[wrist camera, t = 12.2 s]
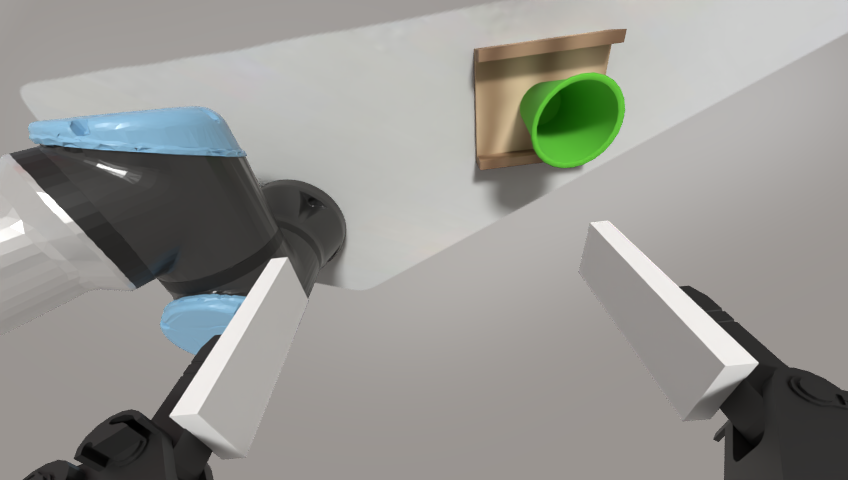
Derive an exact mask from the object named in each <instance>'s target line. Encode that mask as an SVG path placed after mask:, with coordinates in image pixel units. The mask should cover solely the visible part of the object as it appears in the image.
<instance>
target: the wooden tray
mask: <svg viewBox="0 0 848 480" xmlns="http://www.w3.org/2000/svg"><path fill="white" fill-rule="evenodd" d="M626 30H627V29H612V30H604V31H597V32H590V33H583V34H576V35H569V36H562V37H555V38H548V39H541V40H534V41H527V42H520V43H513V44H506V45H499V46H491V47H484V48H477V49H474V71H475V118H476V162H477V164H478V166H479V168H480V170H485V169H493V168H501V167H510V166H518V165H526V164H534V163H542V162H543V161H542V160H541V159H540V158H539V157H538V156H537V154H536V152H535V150H534V149H533V145H532V141H531V135H530V133H529V131H528V129H527V127H526V125H525V123H524V121H523V119H522V117H521V114H520V104H521V100H522V98H523V96H524V95H525V93H526V92H527V91H528V90H529V89H530V88H531V87H532V86H534V85H535V84H538V83H541V82H547V81H555V80H563V79H568V78H569V77H572V76H575V75H578V74H581V73H592V72H595V73H599V74H604V75H606V69H607V64H608V59H609V54H610V49H611V44H614V43H621V42H624V39H625V34H626Z"/></svg>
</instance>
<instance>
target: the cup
mask: <svg viewBox="0 0 848 480" xmlns="http://www.w3.org/2000/svg"><path fill="white" fill-rule="evenodd" d="M624 113H625V104H624V97H623V94H622V91H621V89H620V87H619V86H618V85H617V84H616V82H615V81H614V80H613V79H611V78H609V77H608V76H606V75H604V74H599V73H595V72H592V73H581V74H578V75H575V76H572V77H569V78H568V79H563V80H555V81H547V82H541V83H538V84H535V85H534V86H532V87H531V88H530V89H529V90H528V91H527V92H526V93H525V95H524V96H523V98H522V100H521V104H520V114H521V117H522V119H523V121H524V123H525V125H526V127H527V129H528V131H529V133H530V135H531V141H532V145H533V149H534V150H535V152H536V154H537V156H538V157H539V158H540V159H541V160H542V161H543V162H545V163H547V164H549V165H551V166H553V167H559V168H571V167H576V166H579V165H583V164H585V163H587V162H589V161H591V160H593V159H595V158H596V157H597V156H599V155H600V154H601V153H603V152H604V151H605V150H606V149H607V147H608V146H609V145H610V144H611V143H612V142H613V140H614V139H615V137H616V136H617V134H618V132H619V130H620V127H621V125H622V123H623V118H624Z"/></svg>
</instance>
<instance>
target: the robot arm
mask: <svg viewBox="0 0 848 480" xmlns="http://www.w3.org/2000/svg"><path fill="white" fill-rule="evenodd" d="M28 130H29V132H30V136H29V138H30V139H31V140H32V141H33V142H34V143H35V144H40V145H39V146H37V147H34V148H30V149H27V150H22V151H18V152H14V153H10V154H6V155H3V156H2V157H1V159H0V336H1V335H3V334H5V333H7V332H9V331H11V330H13V329H15V328H17V327H19V326H21V325H23V324H25V323H27V322H29V321H31V320H33V319H35V318H37V317H39V316H41V315H43V314H45V313H47V312H49V311H51V310H53V309H55V308H57V307H59V306H61V305H62V304H65V303H67V302H69V301H70V300H72V299H74V298H76V297H78V296H80V295H82V294H84V293H86V292H88V291H92V290H100V289H104V290H124V291H133V290H135V289H137V288H139V287H141V286H143V285H144V284H146V283H148V282H150V281H152V280H154V279H156V278H157V279H158V280H159V281H160V282H161V283H162V284H163V285H164V287H165V288H166V289H167V290H168V292H169V293H170V294H171V295H172V296H173V299H174V301H173V302H170V303H169V304H168V305H167V306H166V307H165V308H164V313H163V315H162V317H161V318H162V320H161V323H160V326H161V330H162V332H163V333H164V335H165V336H166V337H167V338H168V339H169V340H170V341H171V342H172V343H173V344H175V345H177V346H178V347H179V348H182V349H183V350H185V351H187V352H190V353H192V354H194V355H196V356H195V357H194V359H193V360H192V363H191V365H189V366H188V367H187V369H186V370H185V372H184V373H183V374H184V375H183V376H182V377H180V379H179V381H178V382H177V383H176V385H175V386H174V388H173V389H172V391H171V392H170V394H169V395H168V396H167V398H166V400H165V401H164V402H163V404H162V405H161V407H160V408H159V410H158V411H157V412H156V414H155V415H154V417H153V418H152V420H149V419H148V418H147V417H146V416H144V415H143V414H142V413H140V412H139V411H136V410H127V411H122V412H120V413H118V414H116V415H113V416H111V417H109V418H108V419H107V420H105V421H104V422H102V423H101V424H99V425H98V426H97V427H96V428H95V429H94V430H93V431H92V432H91V433H90V434H88V435H87V436H86V438H85V439H84V440H83V442H82V443H81V444H80V446H79V447H78V449H77V451H76V454H75V457H74V459H75V460H77V461H79V462H81V463H83V464H81V465H79V466H75V465H73V464H71V463H69V462H67V461H62V460H57V461H54V462H51V463H48V464H45V465H44V466H42V467H40V468H38V469H37V470H35V471H33V472H32V473H31V474H29V475H28V476H27V477H26V478H24V479H23V480H213V475H212V470H211V468H210V466H209V465H208V463H207V461H208V459H209V457H210V455H211V453H212V452H214V453H215V454H216V455H217V456H218V457H220V458H221V459H233V458H245V457H246V456H247V453H248V451H249V448H250V446H251V443H252V441H253V438H254V436H255V433H256V431H257V428H258V426H259V424H260V421H261V418H262V416H263V414H264V411H265V409H266V406H267V403H268V401H269V399H270V396H271V393H272V391H273V389H274V386H275V383H276V381H277V378H278V376H279V374H280V371H281V369H282V366H283V364H284V361H285V359H286V356H287V354H288V351H289V349H290V346H291V344H292V341H293V339H294V336H295V334H296V331H297V329H298V326H299V324H300V321H301V319H302V316H303V314H304V311H305V309H306V306H307V304H308V301H309V300H308V297H309V295H310V292H311V290H312V288H313V285H314V283H315V280H316V278H317V275H318V273H319V270H320V269H321V268H322V267H323V266H325V265H326V263H327V262H329V261H330V260H331V259H332V258H333V257H334V256H335V255H336V254H337V253H338V251H339V250H340V248H341V246H342V243H343V240H344V237H345V233H346V224H345V220H344V216H343V214H342V212H341V210H340V208H339V207H338V205H337V204H336V203H335V201H334V200H333V199H332V198H331V197H330V196H329V195H327V194H326V193H325V192H323V191H322V190H320V189H319V188H317V187H315V186H313V185H310V184H308V183H305V182H301V181H296V180H278V181H274V182H270V183H268V184H266V185H264V186H262V187H261V188H260V186H259V184H258V181H257V179H256V177H255V175H254V173H253V171H252V169H251V167H250V165H249V163H248V161H247V159H246V157H245V156H247V155H246V153H245V151H243V150H242V149H241V148H240V146H239V144H238V143H237V141H236V139H235V138H234V136H233V134H232V132H231V130H230V128H229V127H228V125H227V123H226V122H225V120H224V119H223V118H222V117H221V116H220V115H219V114H218V113H216V112H215V111H213V110H211V109H208V108H205V107H200V106H192V107H177V108H165V109H154V110H144V111H133V112H121V113H111V114H101V115H91V116H81V117H73V118H65V119H55V120H44V121H36V122H32V123H30V125H29V127H28ZM579 273H580V275H581V276H582V278H583V279H584V281H585V282H586V283H587V285H588V286H589V288H590V289H591V291H592V292H593V293H594V295H595V296H596V298H597V299H598V300H599V302H600V303H601V305H602V306H603V308H604V309H605V311H606V312H607V313H608V315H609V316H610V318H611V319H612V321H613V322H614V324H615V325H616V326H617V328H618V329H619V331H620V332H621V333H622V335H623V336H624V337H625V339H626V341H627V342H628V344H629V345H630V346H631V348H632V349H633V351H634V352H635V354H636V355H637V356H638V358H639V359H640V361H641V362H642V363H643V365H644V366H645V368H646V369H647V371H648V372H649V374H650V375H651V376H652V378H653V379H654V381H655V382H656V384H657V385H658V386H659V388H660V389H661V391H662V392H663V394H664V395H665V396H666V398H667V399H668V401H669V402H670V404H671V405H672V406H673V408H674V409H675V411H676V412H677V414H678V415H679V417H680V418H681V419H682V421H693V420H705V419H711V417H713V415H714V414H715V413H716V412H717V410H719V408H720V409H721V410H722V412H723V413H724V414H725V415H726V416H727V418H728V419H729V420H728V421H727V422H726V423H725V424H724V425H723V426H722V427H721V428H720V429H719V430H718V431H717V433H716V434H715V437H714V440H715V441H718V442H719V441H720V440H721V439H722V438H723V437H724V436H725V462H724V464H725V465H724V480H848V391H844V390H841V389H840V388H838V387H837V386H835V385H834V384H832V383H831V382H829V381H827V380H826V379H824V378H822V377H820V376H817V375H815V374H813V373H811V372H808V371H805V370H800V369H797V368H789V367H788V366H787V365H785V364H784V363H783V362H782V361H781V360H779V359H778V358H777V357H776V356H775V355H774V354H773V353H772V352H770V351H769V350H768V349H767V348H766V347H765V346H764V345H762V344H761V343H760V342H759V341H758V340H757V339H756V338H755V337H753V336H752V335H751V334H750V333H749V332H748V331H747V330H745V329H744V328H743V327H742V326H741V325H740V324H739V323H738V322H734V319H733V318H732V317H731V316H730V315H729V314H727V313H726V312H725V311H722V309H721V307H719V306H718V305H717V304H716V303H715V302H714V301H713V300H711V299H710V298H709V297H708V296H707V295H705V294H703V293H701V292H699V291H697V290H696V289H694V288H692V287H690V286H681V287H678V286H677V285H676V284H675V283H674V282H673V281H672V280H671V279H670V278H669V277H668V276H666V275H665V274H664V273H663V272H662V271H661V270H660V269H659V268H658V267H657V266H656V265H655V264H654V263H653V262H652V261H651V260H649V258H647V257H646V256H645V255H644V254H643V253H642V252H641V251H640V250H639V249H638V248H637V247H636V246H635V245H634V244H633V243H631V242H630V241H629V240H628V239H627V238H626V237H625V236H624V235H623V234H622V233H621V232H620V231H619V230H618V229H617V228H616V227H615V226H614V225H613V224H612V223H610V222H609V221H601V222H591V223H590V225H589V229H588V234H587V238H586V243H585V247H584V251H583V255H582V260H581V264H580V269H579Z"/></svg>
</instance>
